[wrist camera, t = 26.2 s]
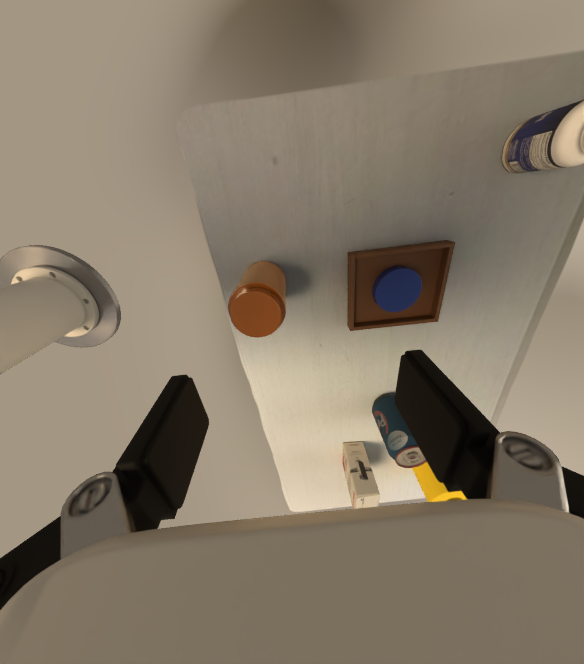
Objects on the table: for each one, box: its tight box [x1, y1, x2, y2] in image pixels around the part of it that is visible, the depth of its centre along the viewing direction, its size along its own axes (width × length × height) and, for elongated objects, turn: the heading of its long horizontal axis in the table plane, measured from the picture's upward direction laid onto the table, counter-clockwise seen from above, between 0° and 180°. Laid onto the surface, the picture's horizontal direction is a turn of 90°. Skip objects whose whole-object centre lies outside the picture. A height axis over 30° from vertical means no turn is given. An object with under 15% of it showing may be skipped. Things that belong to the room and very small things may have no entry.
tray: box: [348, 240, 455, 331], centre depth 36 cm, size 14×12×2 cm
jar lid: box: [372, 266, 422, 312], centre depth 36 cm, size 7×7×2 cm
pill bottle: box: [502, 100, 584, 173], centre depth 24 cm, size 5×5×10 cm
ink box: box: [343, 442, 380, 509], centre depth 52 cm, size 8×5×12 cm, turn 6°
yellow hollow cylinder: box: [412, 462, 467, 502], centre depth 55 cm, size 10×10×9 cm
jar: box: [228, 261, 286, 337], centre depth 31 cm, size 7×7×12 cm
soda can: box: [372, 394, 427, 468], centre depth 44 cm, size 7×7×12 cm
